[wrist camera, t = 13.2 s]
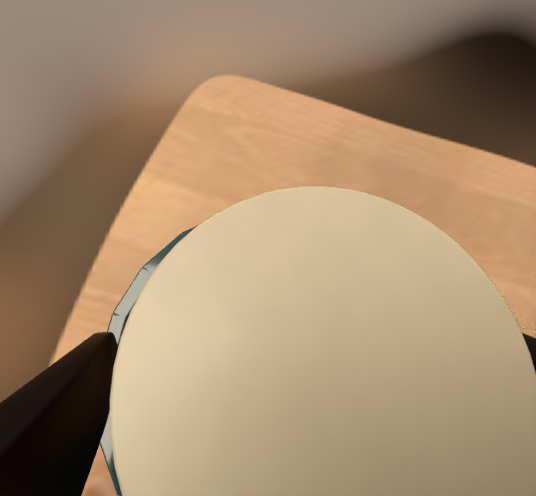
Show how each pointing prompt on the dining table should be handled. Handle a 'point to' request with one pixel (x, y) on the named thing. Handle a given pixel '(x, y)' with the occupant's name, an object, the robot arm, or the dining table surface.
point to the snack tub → (322, 360)
